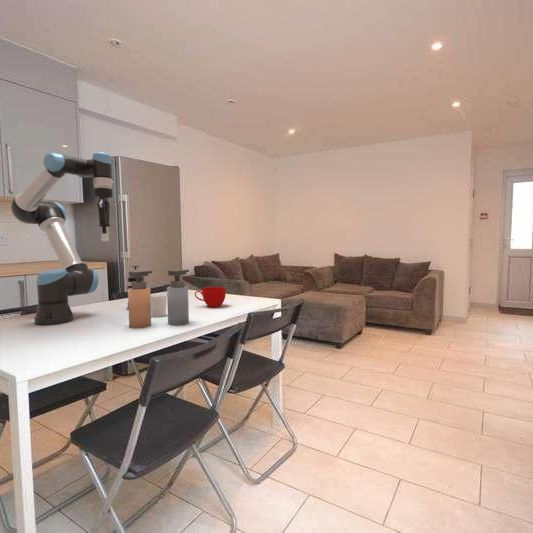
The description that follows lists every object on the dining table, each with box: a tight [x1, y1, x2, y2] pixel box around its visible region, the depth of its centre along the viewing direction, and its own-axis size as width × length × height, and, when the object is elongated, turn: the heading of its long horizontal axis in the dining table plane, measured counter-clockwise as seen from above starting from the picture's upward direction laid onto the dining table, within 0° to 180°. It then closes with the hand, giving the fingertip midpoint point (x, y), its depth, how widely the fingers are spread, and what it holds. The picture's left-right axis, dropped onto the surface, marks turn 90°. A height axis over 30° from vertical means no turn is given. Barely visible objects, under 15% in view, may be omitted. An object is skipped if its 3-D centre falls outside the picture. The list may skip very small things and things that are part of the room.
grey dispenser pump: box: [128, 270, 153, 282], centre depth 154 cm, size 10×4×7 cm, turn 147°
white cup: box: [150, 293, 167, 318], centre depth 174 cm, size 8×8×10 cm
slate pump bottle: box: [166, 279, 190, 326], centre depth 158 cm, size 9×9×19 cm
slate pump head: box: [167, 269, 190, 281], centre depth 158 cm, size 10×4×7 cm, turn 147°
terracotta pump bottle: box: [127, 280, 152, 329], centre depth 153 cm, size 9×9×19 cm
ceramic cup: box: [194, 286, 227, 308], centre depth 197 cm, size 13×17×10 cm
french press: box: [126, 265, 146, 311], centre depth 192 cm, size 12×9×23 cm
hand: (105, 240), depth 162 cm, fingers closed
